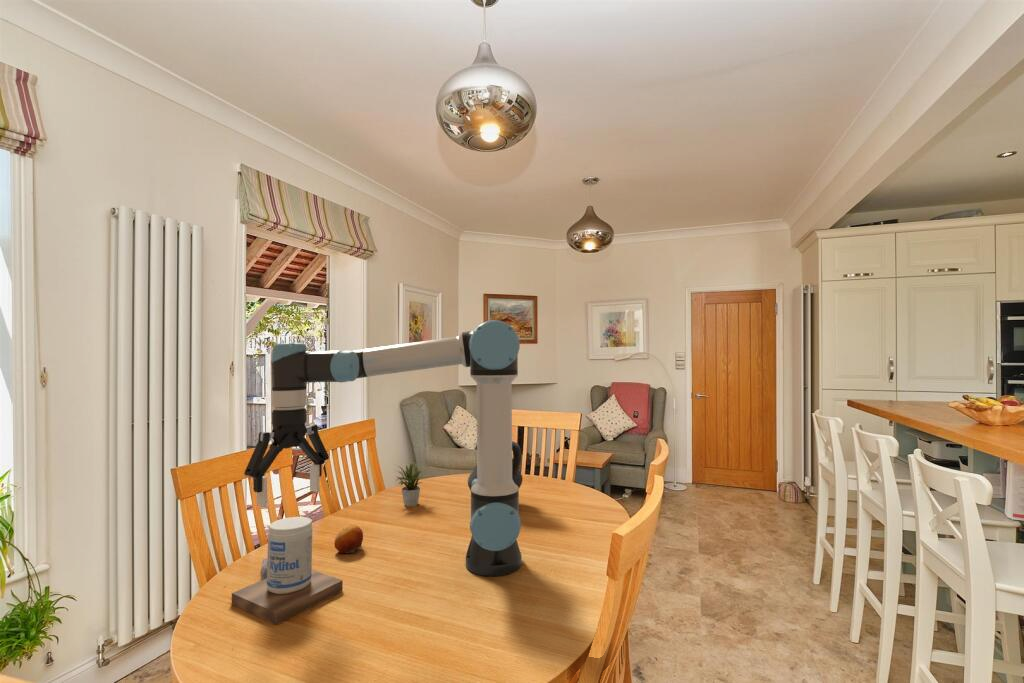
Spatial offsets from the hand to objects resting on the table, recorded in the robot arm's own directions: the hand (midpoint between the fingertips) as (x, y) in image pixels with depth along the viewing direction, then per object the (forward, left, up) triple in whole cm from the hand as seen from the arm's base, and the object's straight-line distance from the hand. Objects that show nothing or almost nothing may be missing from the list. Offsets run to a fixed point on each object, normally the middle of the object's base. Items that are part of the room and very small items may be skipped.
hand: (289, 498), depth 113 cm
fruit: (+10, -26, -23) cm, 36 cm away
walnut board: (0, 0, -23) cm, 23 cm away
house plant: (+26, -68, -23) cm, 76 cm away
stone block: (+14, -8, -24) cm, 29 cm away
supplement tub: (0, 0, -21) cm, 21 cm away
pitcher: (-6, -81, -23) cm, 84 cm away
